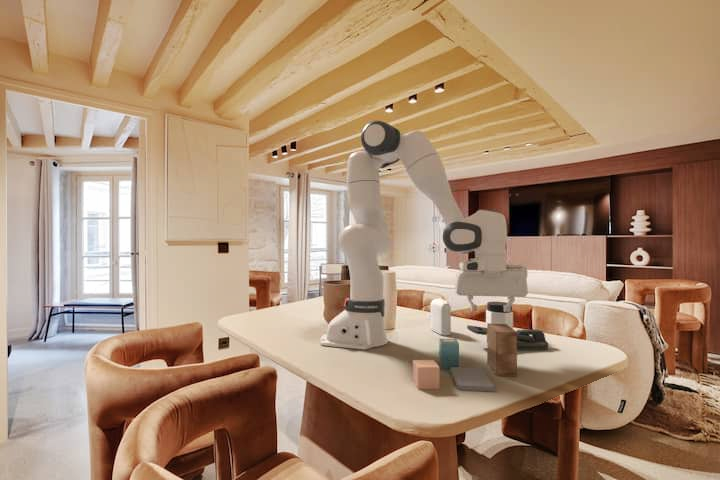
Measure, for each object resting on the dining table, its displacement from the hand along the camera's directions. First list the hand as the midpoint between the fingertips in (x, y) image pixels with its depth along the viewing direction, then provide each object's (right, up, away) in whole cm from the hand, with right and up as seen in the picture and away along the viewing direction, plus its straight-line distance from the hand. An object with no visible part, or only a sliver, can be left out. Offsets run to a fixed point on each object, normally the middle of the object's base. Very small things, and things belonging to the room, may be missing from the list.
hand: (490, 311), depth 105 cm
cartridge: (-15, -13, -10) cm, 22 cm away
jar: (+11, -14, +21) cm, 27 cm away
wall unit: (-1, -13, -12) cm, 17 cm away
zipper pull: (+9, -14, +9) cm, 18 cm away
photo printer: (-9, -14, +27) cm, 31 cm away
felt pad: (-12, -13, -19) cm, 26 cm away
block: (-23, -13, -22) cm, 34 cm away
